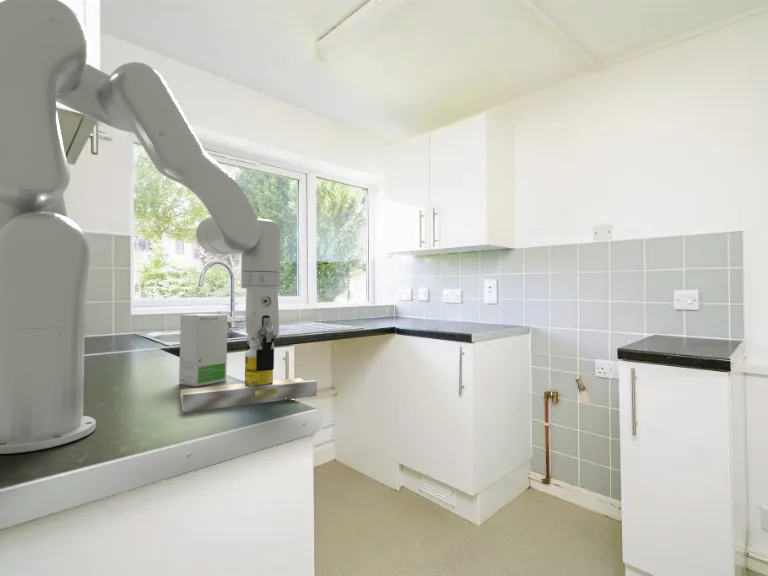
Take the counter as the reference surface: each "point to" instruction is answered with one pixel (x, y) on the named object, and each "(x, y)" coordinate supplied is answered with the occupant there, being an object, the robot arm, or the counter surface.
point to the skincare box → (203, 349)
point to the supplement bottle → (251, 373)
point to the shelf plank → (245, 394)
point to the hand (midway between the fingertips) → (259, 366)
